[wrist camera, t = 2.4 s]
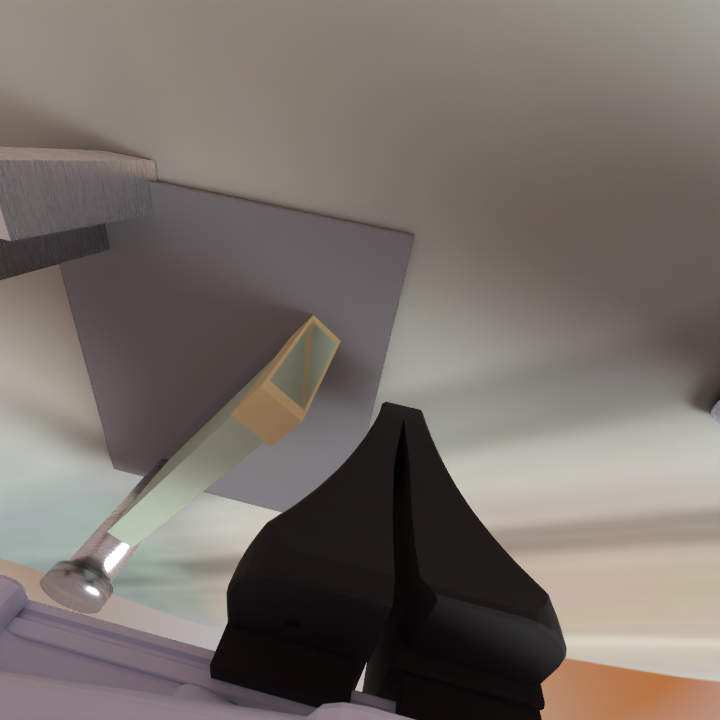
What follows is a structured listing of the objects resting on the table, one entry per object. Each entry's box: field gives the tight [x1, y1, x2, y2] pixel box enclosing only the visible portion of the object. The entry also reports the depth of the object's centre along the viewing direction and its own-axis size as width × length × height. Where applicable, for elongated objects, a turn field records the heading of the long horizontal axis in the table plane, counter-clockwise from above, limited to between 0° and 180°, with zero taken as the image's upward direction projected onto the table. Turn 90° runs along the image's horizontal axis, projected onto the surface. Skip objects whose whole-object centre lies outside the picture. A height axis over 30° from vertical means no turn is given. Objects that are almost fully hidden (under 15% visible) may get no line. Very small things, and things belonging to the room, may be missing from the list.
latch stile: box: [0, 147, 157, 280], centre depth 10 cm, size 3×3×5 cm
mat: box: [59, 181, 414, 512], centre depth 15 cm, size 13×15×1 cm
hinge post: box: [40, 459, 169, 613], centre depth 16 cm, size 2×2×7 cm
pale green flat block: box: [107, 315, 341, 548], centre depth 14 cm, size 1×11×5 cm, turn 135°
